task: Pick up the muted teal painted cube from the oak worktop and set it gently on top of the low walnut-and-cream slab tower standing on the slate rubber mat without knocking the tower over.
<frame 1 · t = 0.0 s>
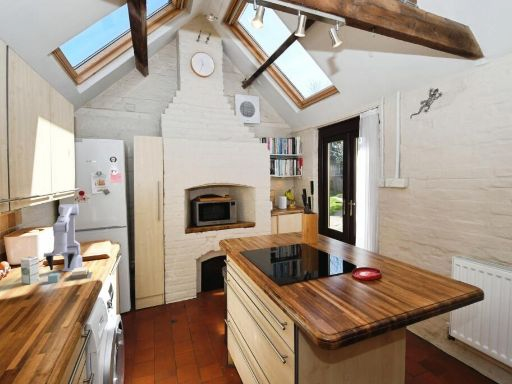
hand: (60, 268, 142), 11 cm above the countertop, tool pointing down, fingers open, 7 cm apart
cream slab: (80, 272, 158), point 2 cm above the countertop, touching walnut slab
walnut slab: (80, 276, 159), resting on slate mat, touching cream slab
syrup box: (30, 282, 150), on the countertop
teal cube: (53, 282, 151), on the countertop
slate mat: (80, 276, 159), on the countertop
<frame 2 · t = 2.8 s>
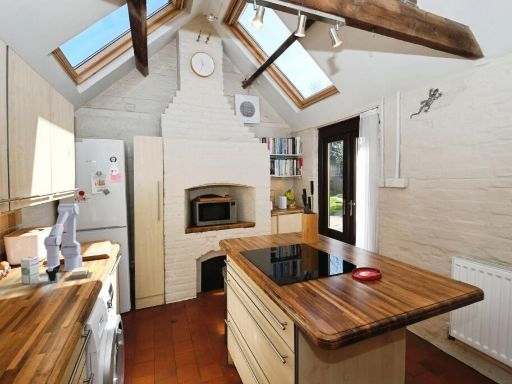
hand: (53, 279, 151), 1 cm above the countertop, tool pointing down, fingers closed on teal cube, 4 cm apart
teal cube: (53, 281, 151), on the countertop, touching gripper
everything else where it was.
when the fingers open (7 cm above the countertop, at t = 5.6 s): teal cube stays where it is, resting on cream slab.
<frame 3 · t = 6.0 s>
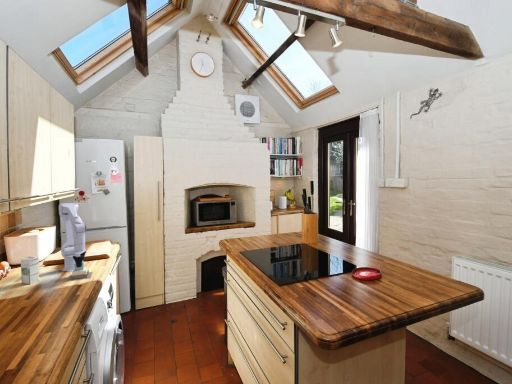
hand: (80, 265, 158), 7 cm above the countertop, tool pointing down, fingers open, 7 cm apart
cream slab: (80, 272, 158), point 2 cm above the countertop, touching teal cube, walnut slab
teal cube: (79, 269, 158), point 5 cm above the countertop, touching cream slab
everything else where it was.
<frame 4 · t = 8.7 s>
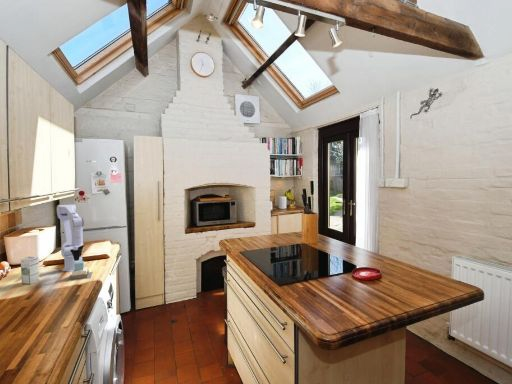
hand: (77, 258, 161), 10 cm above the countertop, tool pointing down, fingers open, 7 cm apart
nothing on the countertop moved.
at the end: teal cube 0.4 cm off-centre on the walnut slab, point 4.4 cm above the walnut slab's base; cream slab tilted 0°; walnut slab moved 0.0 cm from its start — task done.
